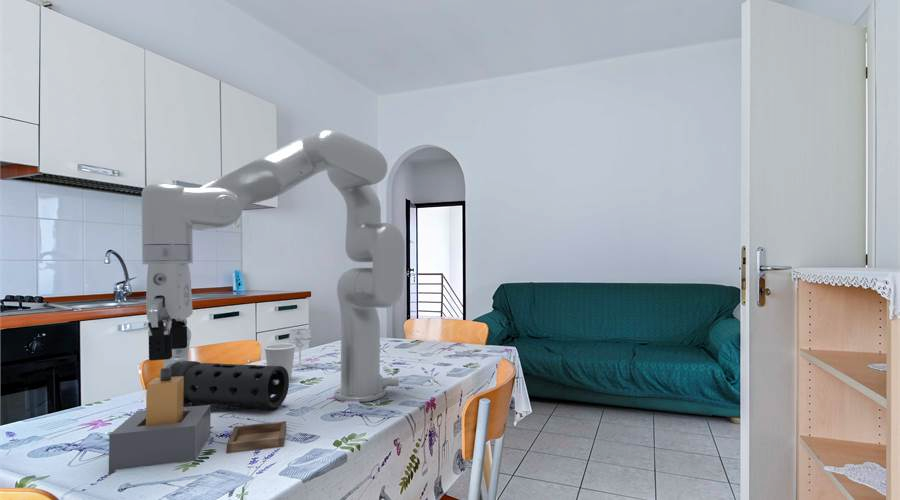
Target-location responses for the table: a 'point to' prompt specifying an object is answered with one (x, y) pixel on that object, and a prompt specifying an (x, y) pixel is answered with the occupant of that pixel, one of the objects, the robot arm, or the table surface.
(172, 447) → the socket block
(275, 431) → the tray
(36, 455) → the table surface
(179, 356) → the plastic bottle
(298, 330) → the wineglass
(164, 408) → the plug
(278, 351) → the dixie cup
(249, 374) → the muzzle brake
